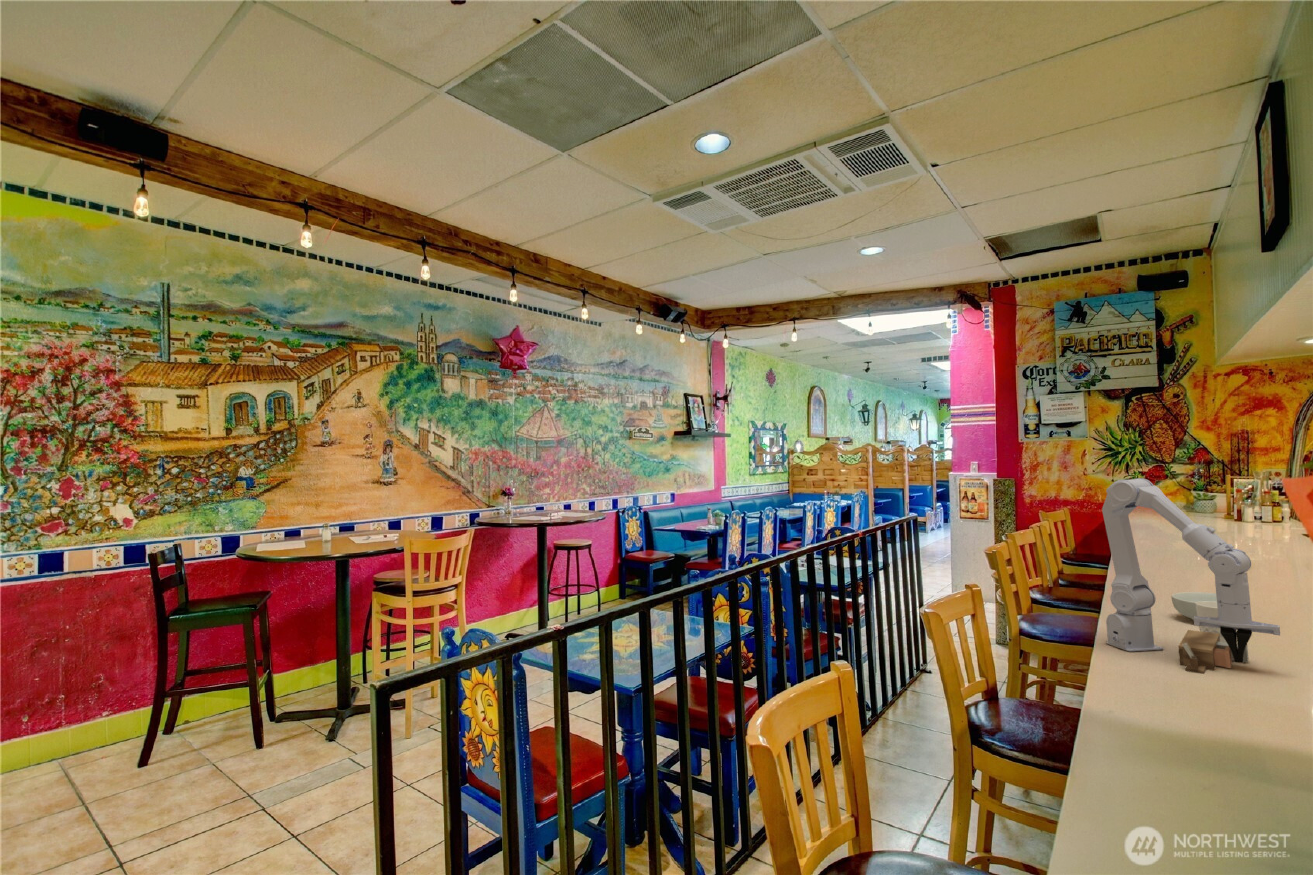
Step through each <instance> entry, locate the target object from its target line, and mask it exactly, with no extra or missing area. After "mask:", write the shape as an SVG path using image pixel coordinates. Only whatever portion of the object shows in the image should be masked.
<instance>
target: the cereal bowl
mask: <svg viewBox="0 0 1313 875" xmlns="http://www.w3.org/2000/svg"><path fill="white" fill-rule="evenodd" d="M1171 601H1172V602H1171V603H1172V606H1173V608H1174V609H1175V610H1176V611H1177V612H1178V614H1181V615H1182V616H1184V617H1185V618H1186V617H1187V618H1188V619H1192V621H1194V616H1197V610H1196V602H1203V601H1209V602H1217V597H1216V592H1207V591H1206V592H1204V591H1186V592H1185V591H1183V592H1176V593H1172V594H1171Z"/></svg>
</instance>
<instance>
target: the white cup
mask: <svg viewBox="0 0 1313 875" xmlns="http://www.w3.org/2000/svg"><path fill="white" fill-rule="evenodd" d="M1196 610H1197V616H1199V617H1216V618H1218V608H1217V602H1209V601H1203V602H1196ZM1198 627H1199V631H1202V632H1210V633H1218V634H1220V642H1226V640H1225V639H1224V637H1223V636H1222V635H1221V633H1220V628H1216V627H1207V626H1198ZM1236 632H1237V630H1236ZM1226 643H1227V642H1226Z"/></svg>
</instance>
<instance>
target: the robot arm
mask: <svg viewBox="0 0 1313 875" xmlns="http://www.w3.org/2000/svg"><path fill="white" fill-rule="evenodd" d="M1137 507H1141V508H1146V509H1152V510H1153V511H1155V512H1156V513H1157V514H1158V515H1160V516H1161V517H1163V518H1164V520H1166V521H1168V523H1170V524H1171V525H1172V526H1173V527H1175V528H1176V529H1178V530H1179V531H1180V532H1181V538H1182V540H1183V541H1184V543H1186V544H1187V545H1188V546H1189V547H1190V548H1192V549H1193V550H1194V551H1195V552H1196V553H1198V554H1199V555H1200V556H1201V557H1202V558H1203V559H1204V560H1206V561H1208V562H1207V567H1208V569H1209V570H1210V571H1211V572H1212V573H1213V574H1214V585H1215V586H1214V587H1215V593H1216V597H1217V608H1218V618H1216V617H1199V616H1194V620H1193V624H1194V625H1193V626H1196V627H1199V626H1207V627H1216V628H1220V633H1221V635H1222V636H1223V637H1224V639H1225V640H1226V642H1227V644H1228V645H1229V647H1230V649H1231V652H1232V654H1233V657H1234V660H1233V661H1234V662H1235V663H1239V664H1240V663H1241V664H1242V663H1244V662H1243V654H1244V650H1245V647H1246V645H1247V646H1248V643H1249V641H1250V639H1251V637H1252V635H1253V634H1252V633H1260V634H1261V633H1262V634H1268V635H1269V634H1270V635H1274V636H1281V626H1280V625H1279V624H1273V623H1272V624H1271V623H1266V622H1259V621H1253V618H1252V608H1251V598H1250V597H1251V596H1250V585H1249V577H1248V571H1249V570H1251V568H1252V560H1251V558H1250V557H1249V555H1247V554H1246V552H1245V551H1244V550H1242V549H1238V548H1235V546H1234V545H1233V544H1232V543H1227V541H1225V540H1224V539H1223V538H1222V537H1220V536H1219V535H1218V534H1217V533H1216V529H1215V528H1213V527H1212V526H1207V524H1203V523H1195V522H1194V521H1193V520H1192V519H1191V518H1190V517H1189V516H1188V515H1187V514H1185V512H1183V511H1182V510H1181V509H1180V508H1179V507H1178V506H1177V505H1176V504H1175V502H1173V501H1171V500H1170V499H1169V497H1167V496H1166V495H1165V494H1164V493H1163V491H1162V489H1160V488H1159V487H1158V486H1156V485H1154V484H1153V482H1151V481H1150V480H1149V479H1146V478H1143V477H1137V478H1132V479H1131V478H1130V479H1118V480H1116V481H1114V482H1113V483H1112V484H1110V485H1109V486H1108V487H1107V488H1106V497H1105V500H1104V503H1103V505H1102V508H1101V509H1102V510H1101V511H1102V516H1103V521H1104V525H1105V532H1106V536H1107V540H1108V544H1109V550H1110V554H1111V559H1112V563H1113V568H1114V573H1115V577H1114V578H1113V580H1112V582H1111V584H1110V585H1111V594H1110V596H1109V597H1110V598H1109V599H1110V603H1111V605H1112V607H1113V608H1115V610H1116V611H1115V612H1114V613H1110V614H1108V615H1107V617H1106V635H1107V641H1106V640H1105V644H1107V645H1110V646H1112V647H1115V648H1118V649H1121V650H1123V651H1126V652H1142V651H1143V652H1144V651H1145V652H1146V651H1160V650H1162V651H1163V650H1164V649H1165V648H1164V647H1163V646H1159V645H1156V644H1155V640H1154V628H1153V626H1154V625H1153V616H1152V607H1153V606H1154V605H1155V603H1156V599H1157V597H1156V595H1155V592H1154V591H1153V590H1152V588H1151V587H1150V585H1149V580H1147V579H1146V578H1145V577H1144V576H1143V575H1142V573H1141V569H1140V564H1139V558H1138V554H1137V551H1136V550H1137V549H1136V545H1135V541H1134V535H1133V532H1132V526H1131V522H1130V518H1129V514H1131V513H1132V512H1133V511H1134V510H1136V508H1137ZM1236 630H1237V632H1236ZM1237 644H1238V648H1237Z"/></svg>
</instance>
